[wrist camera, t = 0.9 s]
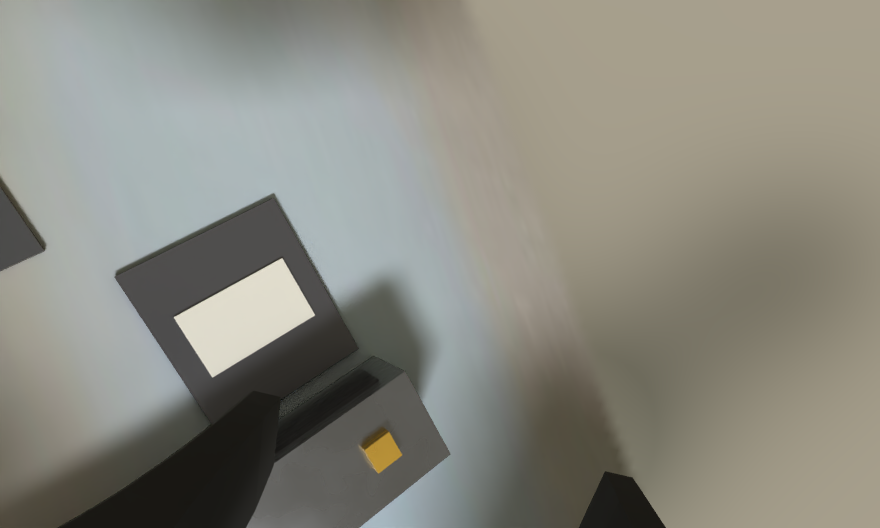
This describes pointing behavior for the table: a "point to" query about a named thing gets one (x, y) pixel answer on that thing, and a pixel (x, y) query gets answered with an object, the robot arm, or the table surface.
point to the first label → (239, 311)
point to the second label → (14, 236)
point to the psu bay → (349, 451)
